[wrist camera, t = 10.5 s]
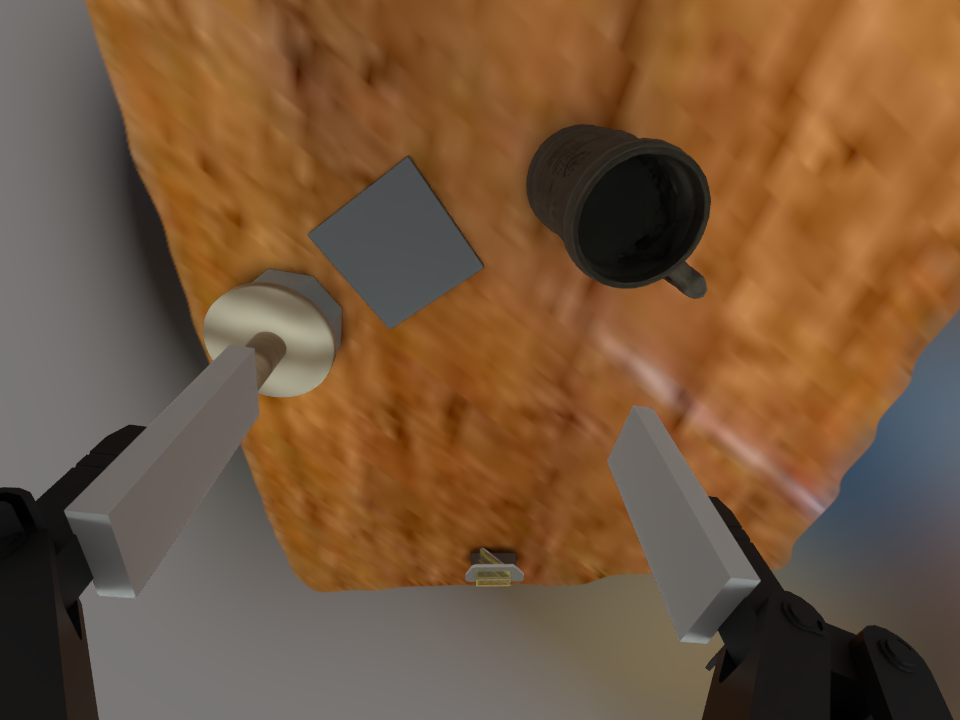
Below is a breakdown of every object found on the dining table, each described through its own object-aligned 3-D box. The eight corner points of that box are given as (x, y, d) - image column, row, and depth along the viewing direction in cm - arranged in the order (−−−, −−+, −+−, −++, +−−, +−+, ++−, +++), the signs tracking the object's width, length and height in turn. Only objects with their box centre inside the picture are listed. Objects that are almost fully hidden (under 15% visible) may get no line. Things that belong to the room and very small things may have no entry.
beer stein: (500, 194, 46) (537, 256, 30) (561, 95, 42) (645, 102, 25) (606, 264, 52) (688, 350, 35) (670, 183, 47) (799, 236, 30)
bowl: (236, 263, 49) (212, 279, 44) (343, 281, 51) (331, 299, 46) (244, 353, 55) (223, 376, 50) (339, 367, 57) (328, 390, 52)
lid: (204, 271, 44) (135, 313, 35) (338, 294, 46) (306, 340, 37) (217, 380, 51) (162, 440, 42) (334, 396, 52) (306, 457, 43)
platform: (442, 525, 74) (440, 560, 68) (546, 525, 74) (553, 559, 69) (443, 569, 80) (441, 604, 74) (539, 568, 80) (545, 603, 75)
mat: (309, 233, 48) (307, 235, 47) (408, 155, 44) (407, 156, 44) (390, 326, 54) (389, 329, 53) (483, 265, 50) (484, 267, 50)
